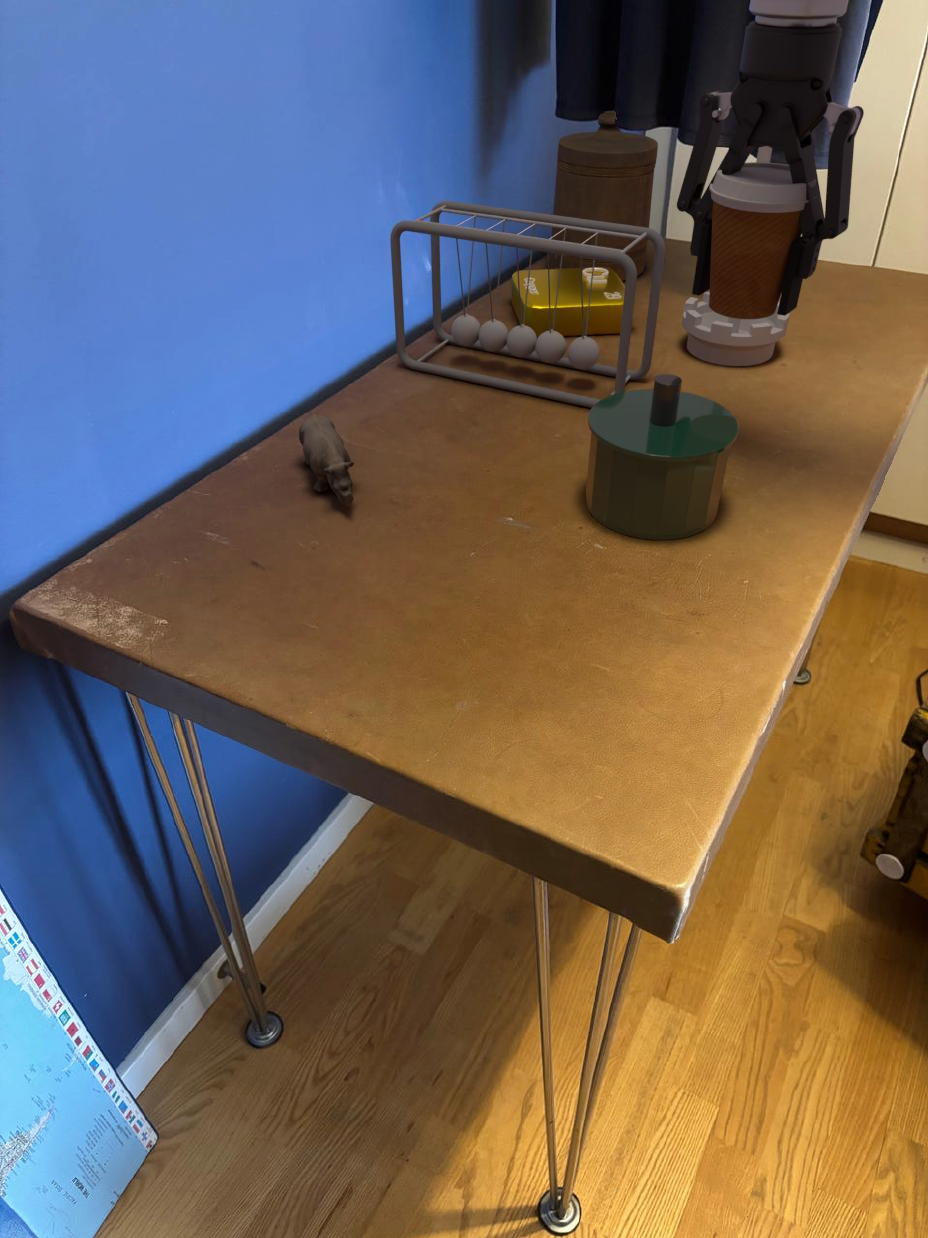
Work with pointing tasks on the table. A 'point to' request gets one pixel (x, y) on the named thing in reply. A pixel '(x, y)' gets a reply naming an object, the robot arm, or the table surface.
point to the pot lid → (663, 423)
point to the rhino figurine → (327, 456)
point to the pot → (653, 493)
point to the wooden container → (604, 189)
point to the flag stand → (732, 327)
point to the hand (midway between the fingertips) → (743, 300)
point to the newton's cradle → (523, 337)
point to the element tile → (570, 300)
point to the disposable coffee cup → (753, 238)
